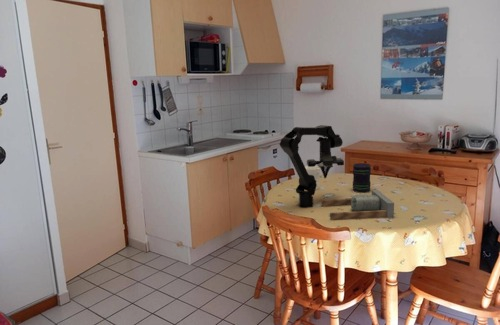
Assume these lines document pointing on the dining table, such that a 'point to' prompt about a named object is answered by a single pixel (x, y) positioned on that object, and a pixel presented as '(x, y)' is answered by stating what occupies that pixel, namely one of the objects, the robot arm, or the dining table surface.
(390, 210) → the end stop
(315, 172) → the foam cup
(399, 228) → the dining table surface
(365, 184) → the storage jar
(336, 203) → the guide rails
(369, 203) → the spool
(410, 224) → the dining table surface
